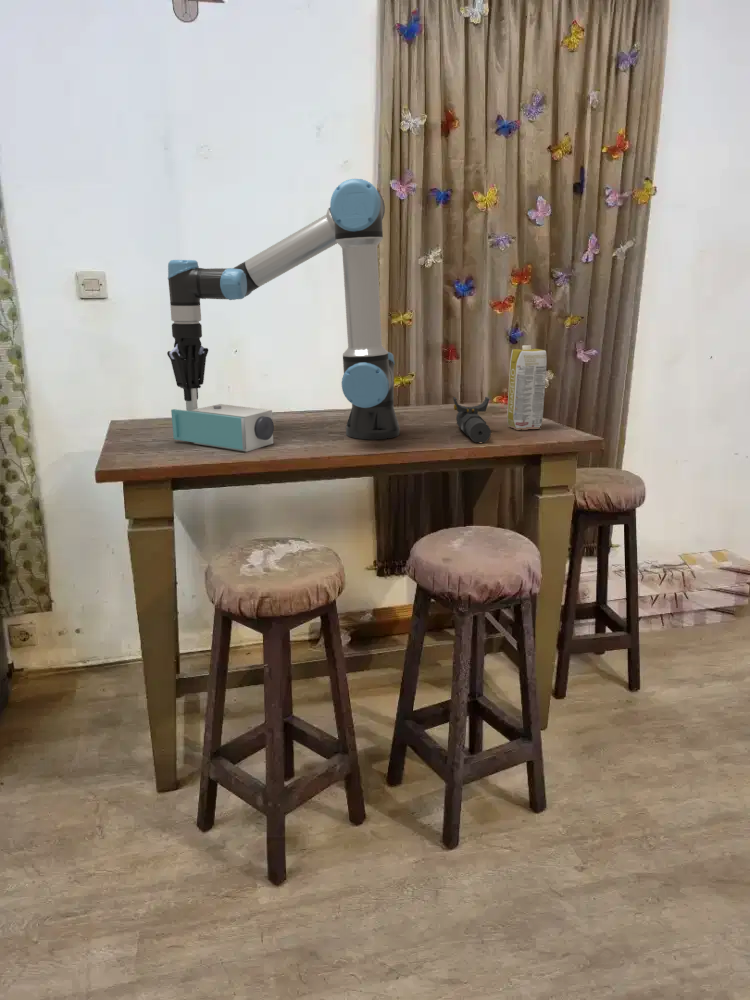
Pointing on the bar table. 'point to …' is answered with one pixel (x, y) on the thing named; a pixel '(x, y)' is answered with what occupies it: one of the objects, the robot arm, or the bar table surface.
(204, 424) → the side door
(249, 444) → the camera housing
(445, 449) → the bar table surface
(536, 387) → the juice carton
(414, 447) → the bar table surface
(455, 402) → the laser sight
